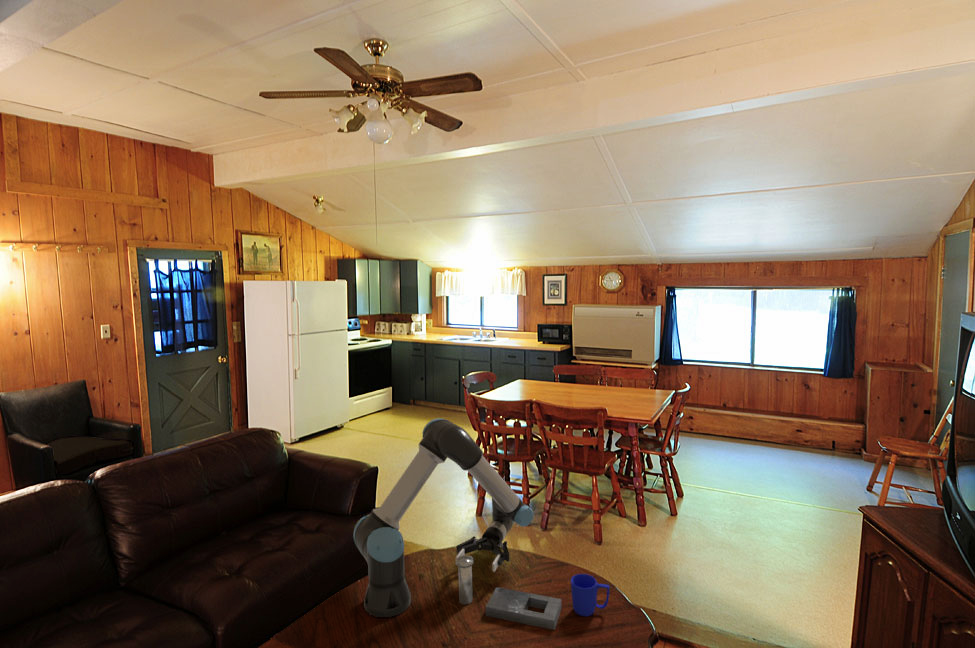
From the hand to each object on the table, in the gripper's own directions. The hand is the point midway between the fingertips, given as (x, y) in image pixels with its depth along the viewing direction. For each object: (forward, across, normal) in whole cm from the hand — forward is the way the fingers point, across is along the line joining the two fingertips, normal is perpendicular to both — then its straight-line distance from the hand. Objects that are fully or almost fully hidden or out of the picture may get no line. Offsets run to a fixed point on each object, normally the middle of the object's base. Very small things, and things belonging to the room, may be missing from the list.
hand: (474, 564), depth 175 cm
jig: (+8, -20, -8) cm, 23 cm away
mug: (+2, -40, -8) cm, 41 cm away
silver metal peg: (+8, 0, -8) cm, 11 cm away
